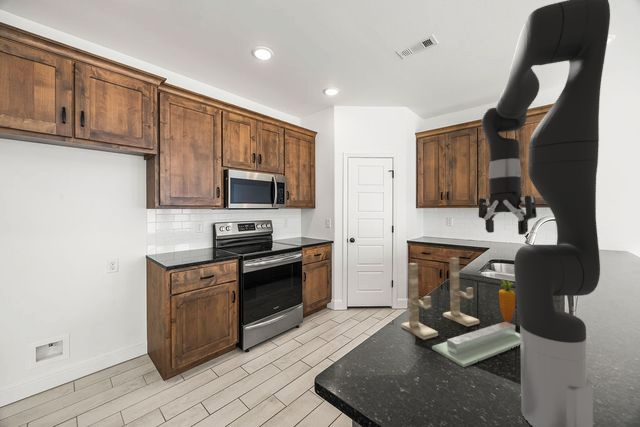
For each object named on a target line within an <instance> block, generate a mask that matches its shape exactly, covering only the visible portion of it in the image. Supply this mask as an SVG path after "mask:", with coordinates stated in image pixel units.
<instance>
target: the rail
mask: <svg viewBox="0 0 640 427" xmlns="http://www.w3.org/2000/svg"><path fill="white" fill-rule="evenodd" d="M515 332H516V325H515V324H513V323H511V322H506V321H503V322H499V323H496V324H491V325H490V326H485V327H484V328H483V327H482V328H479V329H476V330H474V331H470V332H467V333H463V334H461V335H458V336H454V337H451V338H447V339H446V342H447V350H448V351H450V352H452V353H453V354H455V355H460V354H462V353H465V352H468V351H471V350H474V349H477V348H479V347H482V346H485V345H488V344H491V343H494V342H496V341H499V340H502V339H505V338H508V337H511V336H514V335H515Z"/></svg>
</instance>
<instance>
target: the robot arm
mask: <svg viewBox="0 0 640 427" xmlns="http://www.w3.org/2000/svg"><path fill="white" fill-rule="evenodd" d="M610 6H611V5H610V2H609V0H564V1H563V0H562V1H558V2H555V3H551V4H547V5H543V6H541V7H539V8H536V9H535V10H533V11H532V12H531V13H530V14H529V15H528V17H527V19H526V20H525V21H524V24H523V26H522V29H521V31H520V33H519V37H518V40H517V43H516V47H515V50H514V54H513V58H512V62H511V65H510V69H509V73H508V77H507V81H506V84H505V87H504V88H503V90H502V92H501V94H500V95H499V98H498V100H497V103H496V107H491V108H488V109H487V110H485V111H484V113H483V115H481V116H482V117H481V127H482V130H483V132H484V134H485V138H486V141H487V144H488V150H489V151H488V152H489V166H488V192H489V195H490V196H489V198H484V197H481V198H479V200H478V218H480V219H483V220H485V231H486V232H487V233H489V234H490V233H494V232H495V224H494V222H495V221H494V218H495V217H496V216H497V215H498V214H499V213H512V214H513V215H515V217H516V218H517V219H518V221H517V223H518V224H517V226H518V227H517V229H518V235H522V236H523V235H526V234H527V233H528V232H529V223H528V222H529V220H532V219H535V218H537V215H538V213H537V207H536V206H537V205H536V197H535V196H534V195H526V196H522V193H521V192H522V169H521V168H522V167H521V163H520V162H521V161H520V142H519V140H518V139H515V138H511V137H510V138H508V137H503V136H501V134H500V133H505V132H514V131H518V130H520V129H521V128H523V127H524V126H525V125H526V122H527V118H528V115H527V113H528V109H529V108H530V106H531V105H532V104H533V103H534V100H536V98H537V96H538V94H539V91H540V80H539V78H538V76H537V74H536V73H535V72H534V70H533V68H532V67H534V66H544V65H550V64H554V63H555V64H556V63H562V62H568V63H569V69H568V74H567V75H568V76H567V79H566V82H565V86H564V87H563V89H562V91H561V92H560V94H559V96H558V97H557V99H556V101H555V102H554V103H553V105H551V107H550V109H549V110H548V112H546V114H545V115H544V116H543V118H542V119H541V120H540V122H538V125H537V126H536V127H535V129H534V131H533V132H532V134H531V136H530V139H529V143H528V161H527V162H528V166H527V168H528V177H529V179H530V182H531V183H532V185H533V186H534V188H535V189H536V192H538V194H539V195H540V197H541V198H542V200H544V201H545V202H544V203H546V204H547V206H548V207H549V210H551V212H552V215H553V218H554V220H555V223H556V224H555V225H556V237H557V239H556V244H528V245H527V244H526V245H522V246H521V247H519V249H518V250H517V251H516V254H515V256H514V265H513V267H514V268H513V269H514V271H513V272H514V282H515V299H516V307H517V311H518V314H519V315H518V316H519V329H520V330H519V334H520V348H519V349H520V394H521V395H520V396H521V397H520V398H521V399H520V402H521V414H522V416H524V417H523V418H524V420H525V421H526V420H527V421H528V422H527V421H526V422H527V423H529V425H531V426H532V427H594V411H593V410H594V408H593V407H594V406H593V405H594V404H593V403H594V402H593V400H594V393H593V390H594V389H593V386H594V385H593V384H594V383H593V381H592V380H591V379H588V378H587V377H588V376H587V373H588V372H587V369H588V368H587V328H586V324H585V322H584V321H583V320H582V319H581V318H579V317H577V316H576V315H574V314H571V313H569V312H566V311H563V310H561V309H559V308H558V309H557V308H556V307H555V303H554V296H565V297H566V296H567V297H569V296H570V297H573V296H574V297H577V296H578V297H579V296H582V297H583V296H588V295H590V294H591V293H593V292H594V291H596V288H597V287H598V285H599V281H600V275H601V258H600V250H599V249H600V248H599V238H598V229H597V210H596V209H597V200H596V199H597V173H598V163H599V146H600V144H599V143H600V138H599V137H600V132H599V131H600V128H599V127H600V126H599V120H600V119H599V118H600V117H599V115H600V97H601V85H602V77H603V70H604V65H605V58H606V57H605V56H606V51H607V46H608V45H607V44H608V38H609V32H610V24H611V9H610ZM522 202H523V204H524V207H525V210H524V209H523V207H522V206H521V204H522ZM489 205H490V208H488V207H489Z"/></svg>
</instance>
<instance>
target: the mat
mask: <svg viewBox="0 0 640 427" xmlns="http://www.w3.org/2000/svg"><path fill="white" fill-rule="evenodd" d="M519 345H520V332H517V331H515V335H514V336H511V337H508V338H505V339H502V340H499V341H496V342H494V343H491V344H488V345H485V346H482V347H479V348H477V349H474V350H471V351H468V352H465V353H462V354H460V355H455V354H453V353H452V352H450V351H448V350H447V341H444V342H441V343H438V344H435V345H432V346H431V349H432V350H433V351H435V352H436V353H438V354H440V355H442V356H443V357H445V358H447V359H449V360H451V361H452V362H454V363H455V364H457V365H459V366H461V367H462V368H465V367H468V366H471V365H473V364H475V363H478V361H479V362H481V361H483V360H486V359H489V358H492V357H494V356H497V355H499V354H502V353H504V352H506V351H509V350H511V348H512V349H514V347H515V348H517V347H519ZM516 346H517V347H516Z"/></svg>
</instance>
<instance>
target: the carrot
mask: <svg viewBox="0 0 640 427" xmlns="http://www.w3.org/2000/svg"><path fill="white" fill-rule="evenodd" d="M501 282H502V284H500V286H501V287H502V288H503V289H499V291H498V299H499V309H500V312H501V316H502V317H503V319H504V322H508V323H511V320H512V318H513V317H514V313H515V310H516V309H515V308H516V307H515V306H516V292H515V291H513V290H511V288H512V287H513V285H514V283H513V282H510V281H509V280H507V282H506V280H505V279H504V278H502V279H501Z"/></svg>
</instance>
